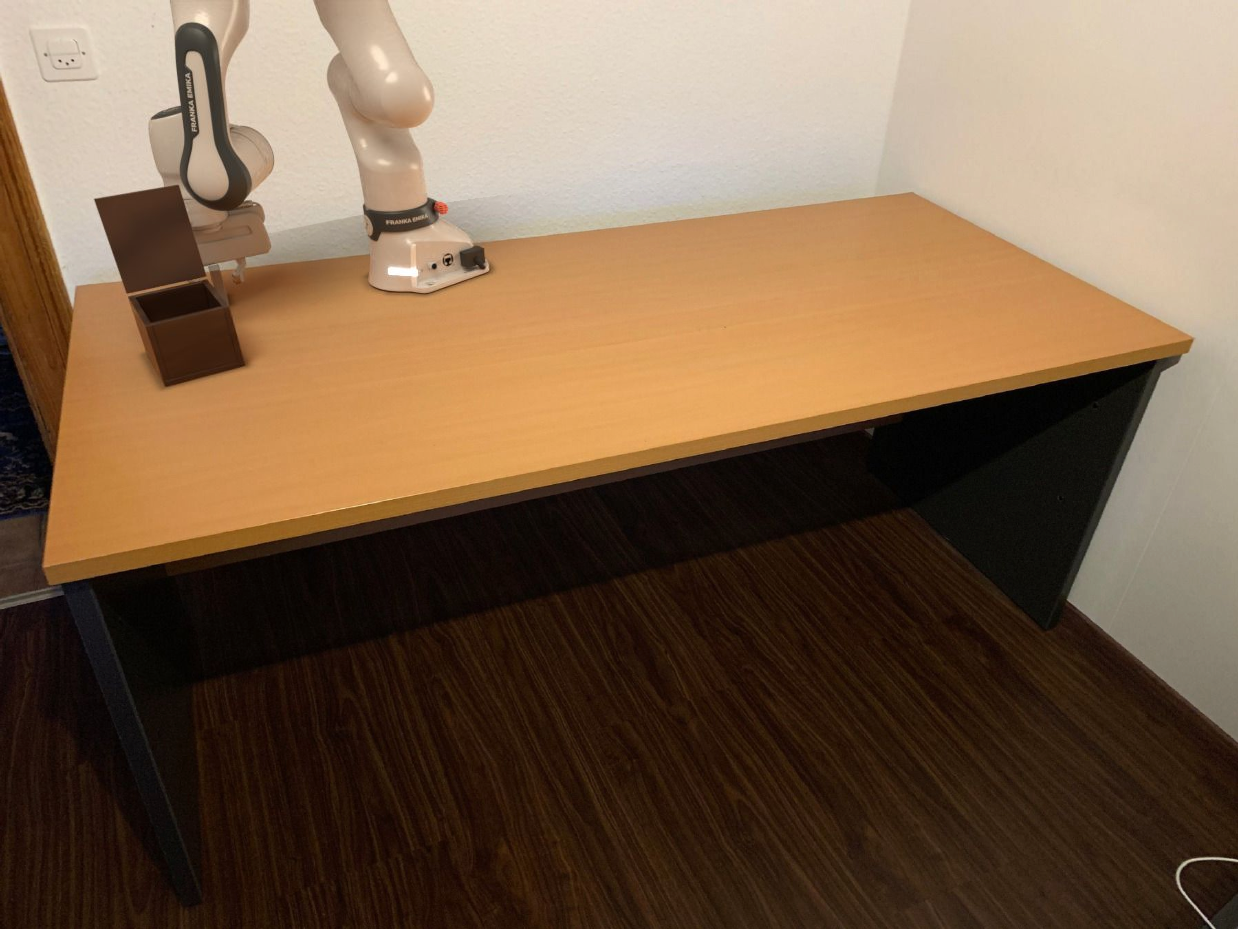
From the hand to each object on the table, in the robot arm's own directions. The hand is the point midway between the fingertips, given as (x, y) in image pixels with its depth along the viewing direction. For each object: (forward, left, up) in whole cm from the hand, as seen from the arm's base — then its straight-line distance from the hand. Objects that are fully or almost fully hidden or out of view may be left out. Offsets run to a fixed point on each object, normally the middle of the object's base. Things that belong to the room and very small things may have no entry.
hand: (219, 287), depth 161 cm
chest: (+9, +20, -3) cm, 22 cm away
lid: (+9, +13, +14) cm, 21 cm away
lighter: (0, 0, -3) cm, 3 cm away
